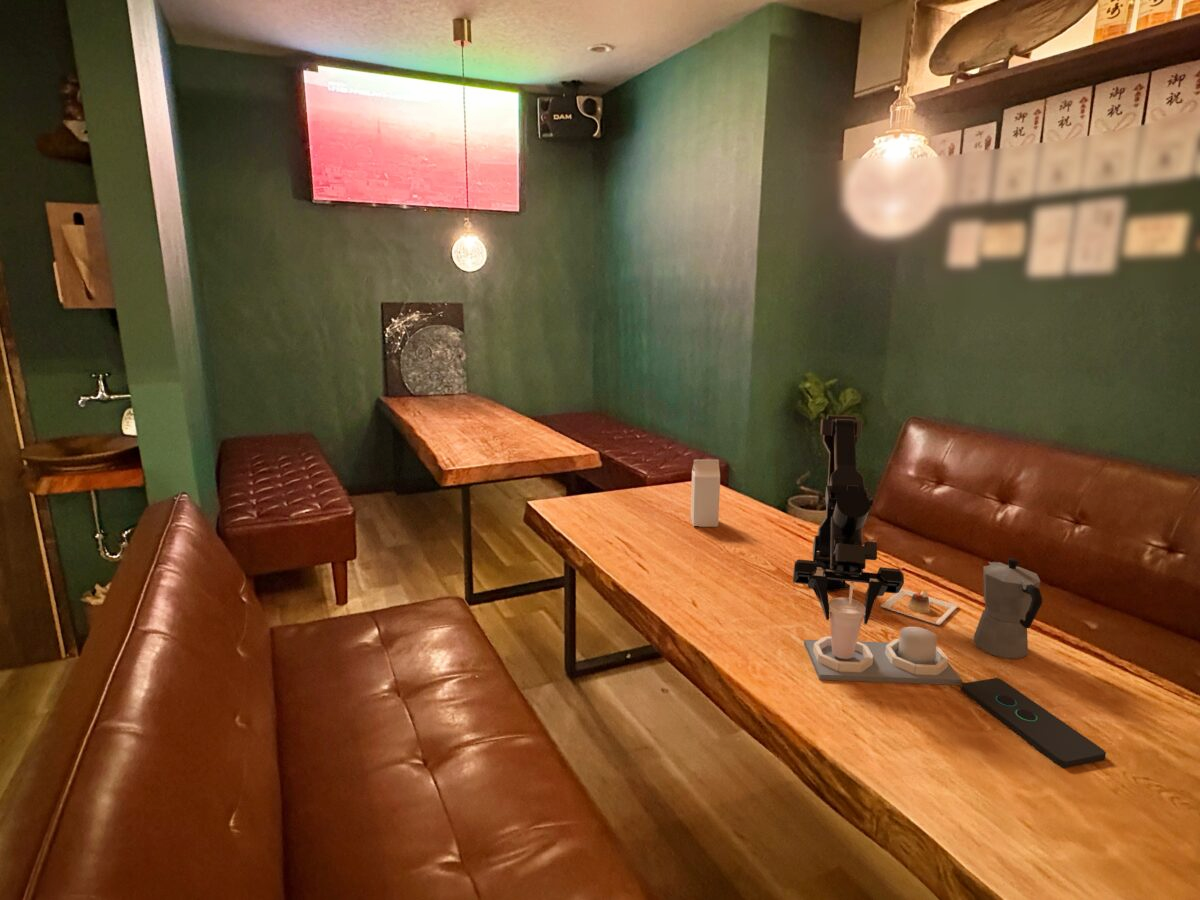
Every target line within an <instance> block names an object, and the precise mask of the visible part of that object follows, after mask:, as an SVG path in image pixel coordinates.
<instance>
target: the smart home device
mask: <svg viewBox="0 0 1200 900" xmlns="http://www.w3.org/2000/svg"><path fill="white" fill-rule="evenodd" d="M960 692H961V693H963V694H964V695H965V694H966V695H967V696H966V695H965V696H966V697H967V698H969V699H970V698H971V699H970V700H971V701H973V702H974V701H975V702H976V704H977V705H978V706H979V705H980V706H979V707H981V708H982V709H983V710H984V711H986V712H987V713H989V714H990V715H991V716H992V717H994V718H995V719H996V720H998V721H999V722H1001V724H1003V725H1004V726H1005V727H1007V728H1008V729H1009V730H1011V731H1012V732H1013V733H1014V734H1016V735H1017V736H1018V737H1019V738H1021V739H1022V740H1024V741H1025V742H1027V744H1029V745H1031V746H1032V748H1034V749H1035V750H1037V752H1039V753H1040V754H1042V755H1043V756H1045V757H1046V758H1047V759H1049V760H1050V761H1051V762H1052V763H1054V764H1055V765H1056V766H1058V767H1060V768H1062V769H1068V768H1072V767H1077V766H1078V767H1079V766H1082V765H1083V766H1084V765H1089V764H1091V763H1097V762H1103V761H1105V759H1106V756H1107V752H1106V750H1104V749H1103V748H1102V747H1100V746H1099V745H1097V744H1096V743H1094V742H1093V741H1092V740H1090V739H1089V738H1087V737H1086V736H1084V735H1083V734H1081V733H1080V732H1078V731H1077V730H1076V729H1074V728H1073V727H1071V726H1070V725H1069V724H1067V723H1066V722H1065V721H1063V720H1062V719H1060V718H1059V717H1057V716H1055V715H1054V714H1053V713H1052V712H1050V711H1048V710H1047V709H1045V708H1044V707H1042V706H1041V705H1039V704H1038V703H1037V702H1036V701H1034V700H1032V699H1031V698H1029V697H1028V696H1026V695H1025V694H1024V693H1022V692H1021V691H1019V690H1018V689H1016V688H1015V687H1013V686H1012V685H1011V684H1009V683H1008V682H1006V681H1005V680H1003V679H1002V678H999V677H995V678H994V677H993V678H988V679H982V680H976V681H975V680H974V681H968V682H963V683H962V684H961V685H960ZM975 702H974V703H975Z"/></svg>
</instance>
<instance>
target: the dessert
mask: <svg viewBox="0 0 1200 900" xmlns="http://www.w3.org/2000/svg"><path fill="white" fill-rule="evenodd" d="M905 595H906V596H909V597H911V599H910V600H909V602H908V604H907V608H908V609H909V610H910V609H911V611H912V610H913V612H915V613H918V612H919V613H918V614H928V612H929V613H930V612H932V609H931V603H932V602H933V604H936V605H939V606H942V605H943V607H946V608H949V609H947V610H946V612H944V614H942V616H940V617H939V618H938V620H937V621H936V622H934V621H930V620H927V619H925V618H921V617H918V616H915V615H912V614H908V613H905V612H902V611H899V610H896V609H893V608H891V607H892V606H894V604H895V603H897V602H898V601H899V600H900V599H902V598H903V597H904V596H905ZM880 607H881V608H883V609H885V610H889V611H891V612H894V613H898V614H900V615H903V614H904V615H903V616H908V617H910V618H912V619H916V620H919V621H923V622H926V623H928V624H931V625H935V626H940V625H941V624H942V623H943V622H944V621H945V620H946V619H947V618H948V617H949V616H950V615H951V614H953V613H954V612H955V611H956V610H957V608H958V607H960V606H959V605H958V604H955V603H952V602H948V601H945V600H942V599H938V598H934V597H931V596H928V593H927V592H926V591H925V590H924V589H923V590H921V591H920V592H918V593H917V592H915V591H911V590H908V589H904V588H901V589H900V591H899V593H893V595H892V596H891V597H889V598H888V599H887V600H886V601H884V602H883V603H882V604H881V605H880Z"/></svg>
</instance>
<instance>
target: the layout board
mask: <svg viewBox="0 0 1200 900" xmlns="http://www.w3.org/2000/svg"><path fill="white" fill-rule="evenodd" d="M899 634H900V635H899V638H894V639H893V640H891V641H890V642H887V641H885V642H884V641H861V640H860V641H858V640H857V643H856V647H855V651H854V655H853V657H852V658H850V659H842V658H838V657H836V656H835V655H833V653H832V642H831V635H830V636H829V635H827V636H823V637H822V638H820V639H803V644H804V648H805V650H806V652H807V654H808V657H809V659H810V661H811V664H812V666H813V668H814V671H815V673H816V676H817V678H818V680H820V681H821V680H823V681H844V682H845V681H847V682H874V683H894V684H895V683H900V684H927V685H947V686H948V685H949V686H950V685H951V686H954V685H956V686H961V684H962V682H963V680H962V678H961V677H960V675H959V674H958V673H957V672H956V670H955V669H954V668H953V666H952V665H951V664H950V663H949V657H948V656H947V655H946V654H945V653H944V652H943V650H942V649H941V648H940V647H939V646H937V645H938V636H937V635H936V633H934V632H933V631H931V630H928V629H926V628H922V627H919V626H905V627H903V628H901V629H900V631H899Z"/></svg>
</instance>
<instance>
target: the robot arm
mask: <svg viewBox="0 0 1200 900" xmlns="http://www.w3.org/2000/svg"><path fill="white" fill-rule="evenodd" d="M862 427H863V420H857V417H856V416H855V415H845V414H842V415H841V414H827V415H826V418H823V419H820V427H819V428H820V431H819V432H820V433H819V434H820V435H821V436H822V444H823V445H824V447H825V449H826V450H827V451H826V452H827V453H828V455H829V456H828V470H827V485H826V486H825V505H826V508H825V517H824V519H823V521H822V522H821V523H820V525H819V526H818V528H817V534H815V535H814V537H813V543H812V560H809V559H808V560H807V559H797V560H795V561H794V564H793V574H792V576H793V577H792V583H793V584H799V585H801V584H802V585H807V589H811V590H813V592H814V594H815V595H816V597H817V599H818V602H819V604H820V607H821V609H822V611H823V612H822V613H823V615H824V617H825V620H826V621H829V620H830V611H829V594H828V592H832V591H837V590H842V589H843V590H844V589H850V583H847V582H854V583H863V584H867V586H868V587H867V590H866V592H865V599H864V600H865V601H864V605H865V607H866V611H865V615H864V616H863V624H864V626H865V625H866V626H867V625H868V623H869V622H868V621H869V620H870V619H869V618H870V615H871V614H872V610H873V607H874V604H875V601H876V599H877V597H883V596H884V595H885V593H890V594H896V593H899V591H900V589H903V588H902V587H904V585H905V578H904V576H905V575H904V573H903V571H902V570H901V569H900V568H894V567H893V568H891V567H881V566H879V568H878V570H877V573H876V572H868V571H867V572H866V571H864V570H865V569H866V567H867V565H866V561H867V560H869V561H876V560H877V559H878V542H877V541H865V542H864V543H863V538H864V537H863V527H864V526H865V524H866V521H867V517H868V515H869V512H870V509H871V507H872V506H873V503H874V498H872V495H871V494H870V492H869V489H868V488H867V487H865V484H866V483H865V479H864V478H865V477H864V476H863V474H861V473H860V471H859V470H858V468H857V449H856V447H857V446H856V444H857V442H858V438H861V437H862Z"/></svg>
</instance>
